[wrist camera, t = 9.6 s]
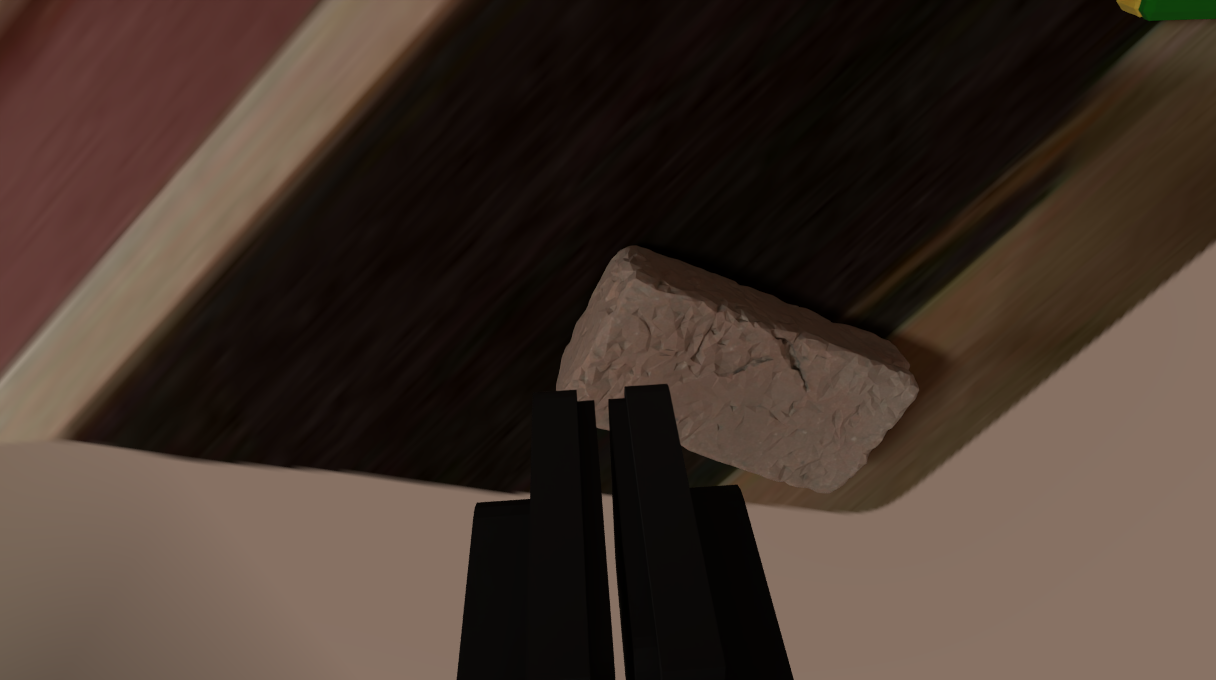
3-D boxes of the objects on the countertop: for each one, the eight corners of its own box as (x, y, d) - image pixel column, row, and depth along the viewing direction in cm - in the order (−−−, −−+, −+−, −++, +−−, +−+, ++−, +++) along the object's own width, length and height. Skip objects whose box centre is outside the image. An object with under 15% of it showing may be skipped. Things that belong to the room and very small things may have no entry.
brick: (904, 338, 44) (938, 393, 40) (818, 450, 48) (841, 510, 44) (618, 226, 39) (625, 275, 35) (550, 361, 43) (550, 418, 39)
